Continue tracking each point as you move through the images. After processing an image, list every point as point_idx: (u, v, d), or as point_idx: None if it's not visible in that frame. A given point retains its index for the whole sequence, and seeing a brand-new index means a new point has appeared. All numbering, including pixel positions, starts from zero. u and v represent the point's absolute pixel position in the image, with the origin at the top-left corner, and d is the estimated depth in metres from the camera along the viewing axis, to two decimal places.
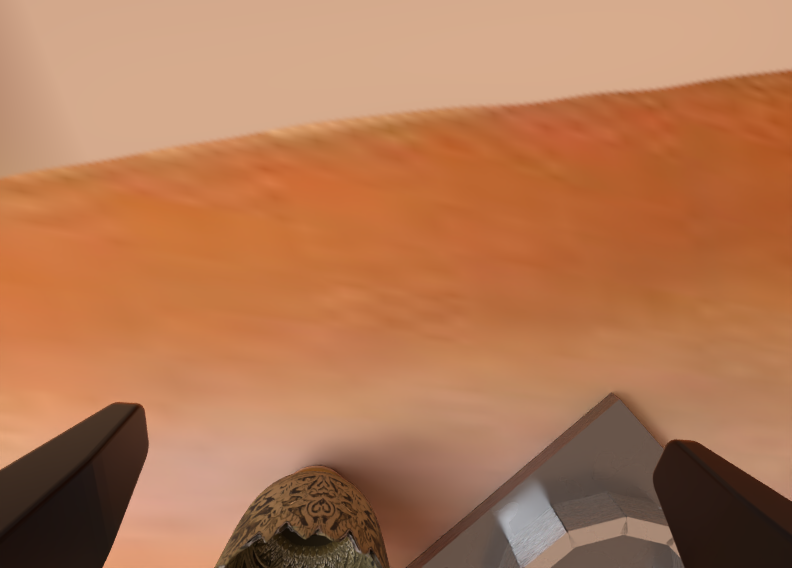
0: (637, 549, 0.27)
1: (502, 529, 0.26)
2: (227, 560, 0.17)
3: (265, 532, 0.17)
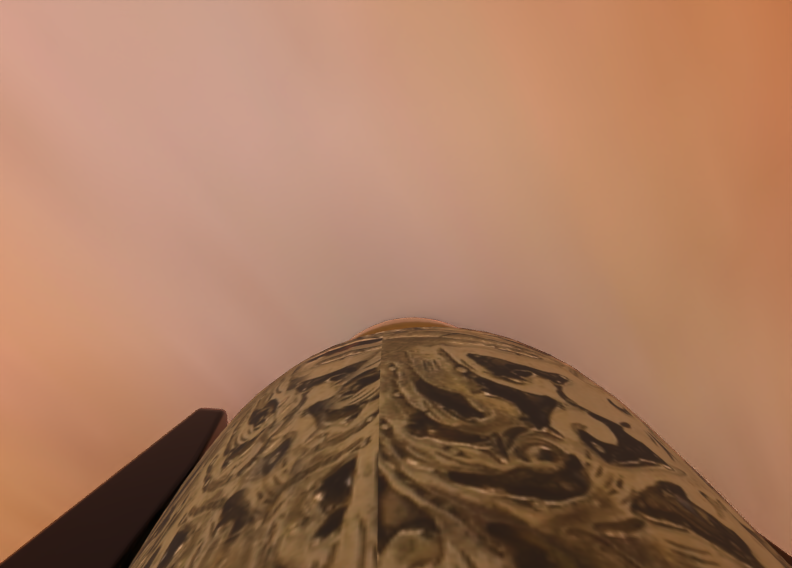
0: None
1: None
2: None
3: None
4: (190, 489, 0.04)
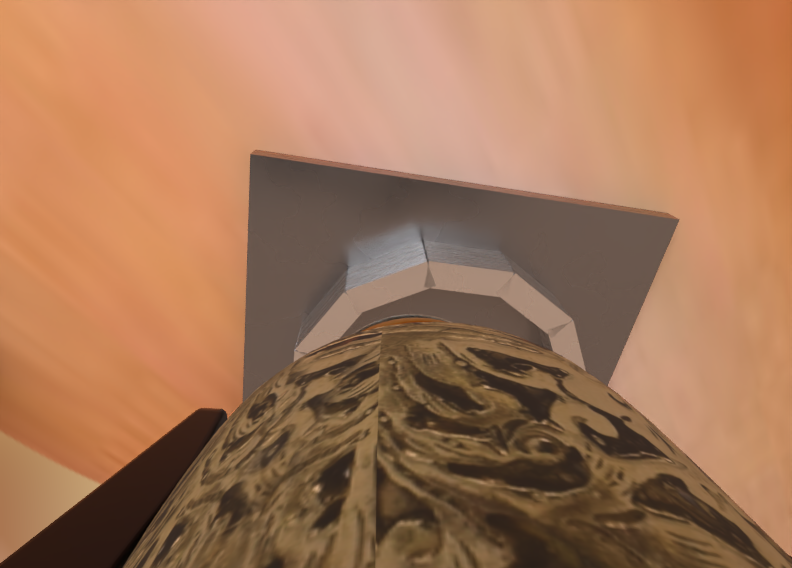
0: None
1: (433, 221, 0.18)
2: None
3: None
4: (188, 483, 0.04)
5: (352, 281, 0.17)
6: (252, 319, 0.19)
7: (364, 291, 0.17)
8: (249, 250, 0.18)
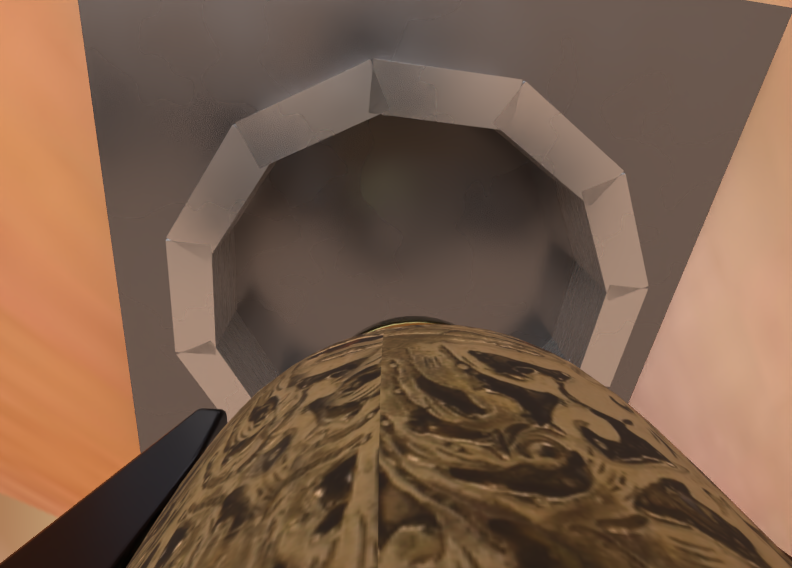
0: (514, 296, 0.14)
1: (387, 20, 0.11)
2: None
3: None
4: (190, 486, 0.04)
5: None
6: (118, 207, 0.12)
7: (267, 123, 0.10)
8: (93, 83, 0.11)
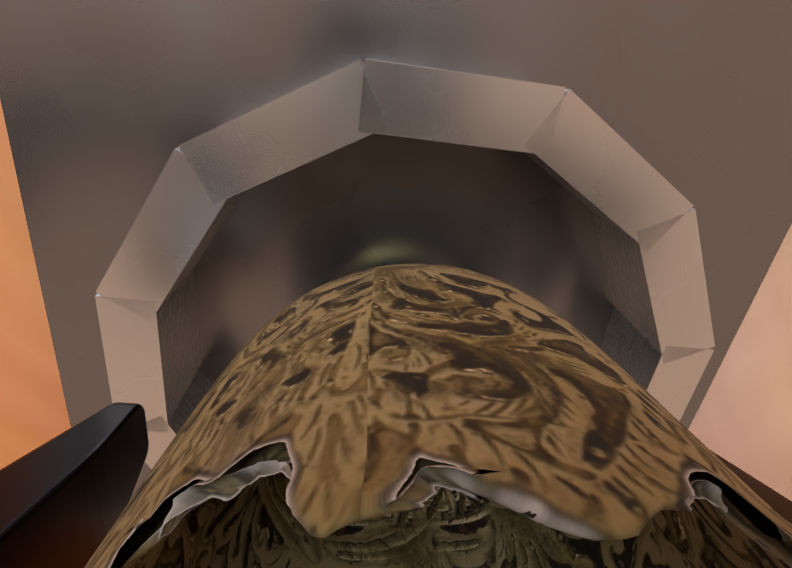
0: None
1: (383, 9, 0.08)
2: (624, 520, 0.02)
3: (756, 503, 0.03)
4: (233, 363, 0.06)
5: None
6: (46, 245, 0.10)
7: (222, 146, 0.07)
8: (4, 90, 0.09)
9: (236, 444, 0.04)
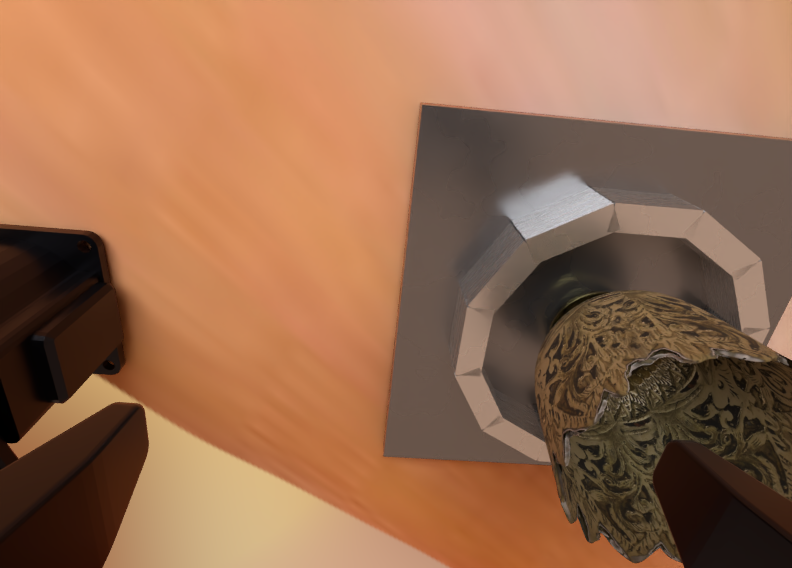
0: None
1: (603, 165, 0.17)
2: (767, 358, 0.11)
3: None
4: (582, 334, 0.15)
5: (527, 231, 0.17)
6: (410, 280, 0.19)
7: (545, 239, 0.16)
8: (413, 207, 0.18)
9: (643, 351, 0.12)
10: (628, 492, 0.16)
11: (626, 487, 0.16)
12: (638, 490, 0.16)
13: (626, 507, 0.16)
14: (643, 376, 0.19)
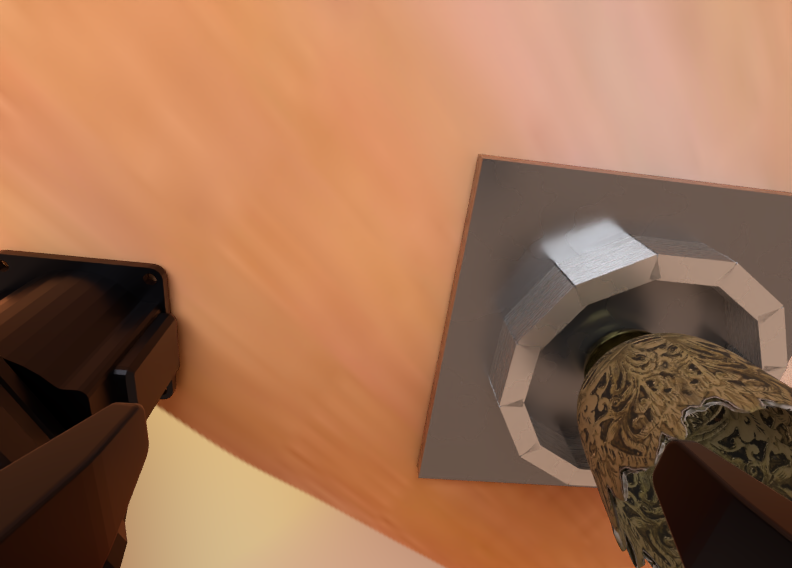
0: None
1: (643, 216, 0.18)
2: None
3: None
4: (631, 376, 0.16)
5: (575, 276, 0.18)
6: (458, 316, 0.20)
7: (592, 285, 0.17)
8: (466, 250, 0.19)
9: (695, 398, 0.14)
10: (664, 519, 0.18)
11: (661, 514, 0.18)
12: None
13: (663, 533, 0.17)
14: None
